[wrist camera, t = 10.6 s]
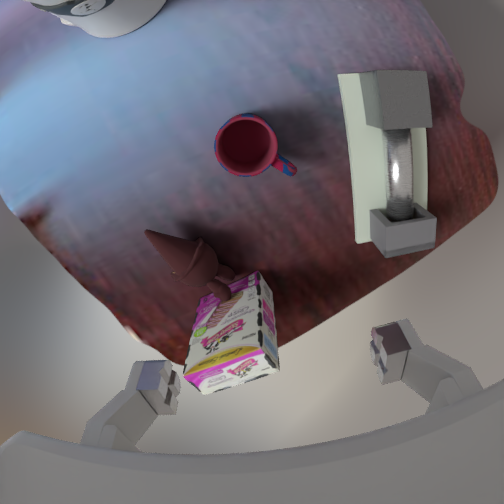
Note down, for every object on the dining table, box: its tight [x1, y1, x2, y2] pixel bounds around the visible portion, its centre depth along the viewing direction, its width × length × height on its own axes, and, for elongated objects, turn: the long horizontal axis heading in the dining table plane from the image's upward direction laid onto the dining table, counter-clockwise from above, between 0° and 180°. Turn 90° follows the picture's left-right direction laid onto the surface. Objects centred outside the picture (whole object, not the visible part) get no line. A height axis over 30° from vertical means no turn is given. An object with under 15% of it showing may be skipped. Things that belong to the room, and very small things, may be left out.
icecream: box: [144, 229, 235, 301], centre depth 41 cm, size 7×7×15 cm
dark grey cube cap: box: [359, 70, 432, 130], centre depth 30 cm, size 7×7×6 cm
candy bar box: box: [183, 271, 280, 395], centre depth 41 cm, size 11×5×16 cm, turn 120°
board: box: [338, 73, 428, 244], centre depth 37 cm, size 24×12×1 cm, turn 11°
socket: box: [369, 203, 437, 258], centre depth 39 cm, size 4×8×6 cm, turn 101°
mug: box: [214, 114, 297, 177], centre depth 34 cm, size 7×10×7 cm
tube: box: [381, 128, 414, 223], centre depth 36 cm, size 15×4×4 cm, turn 11°
